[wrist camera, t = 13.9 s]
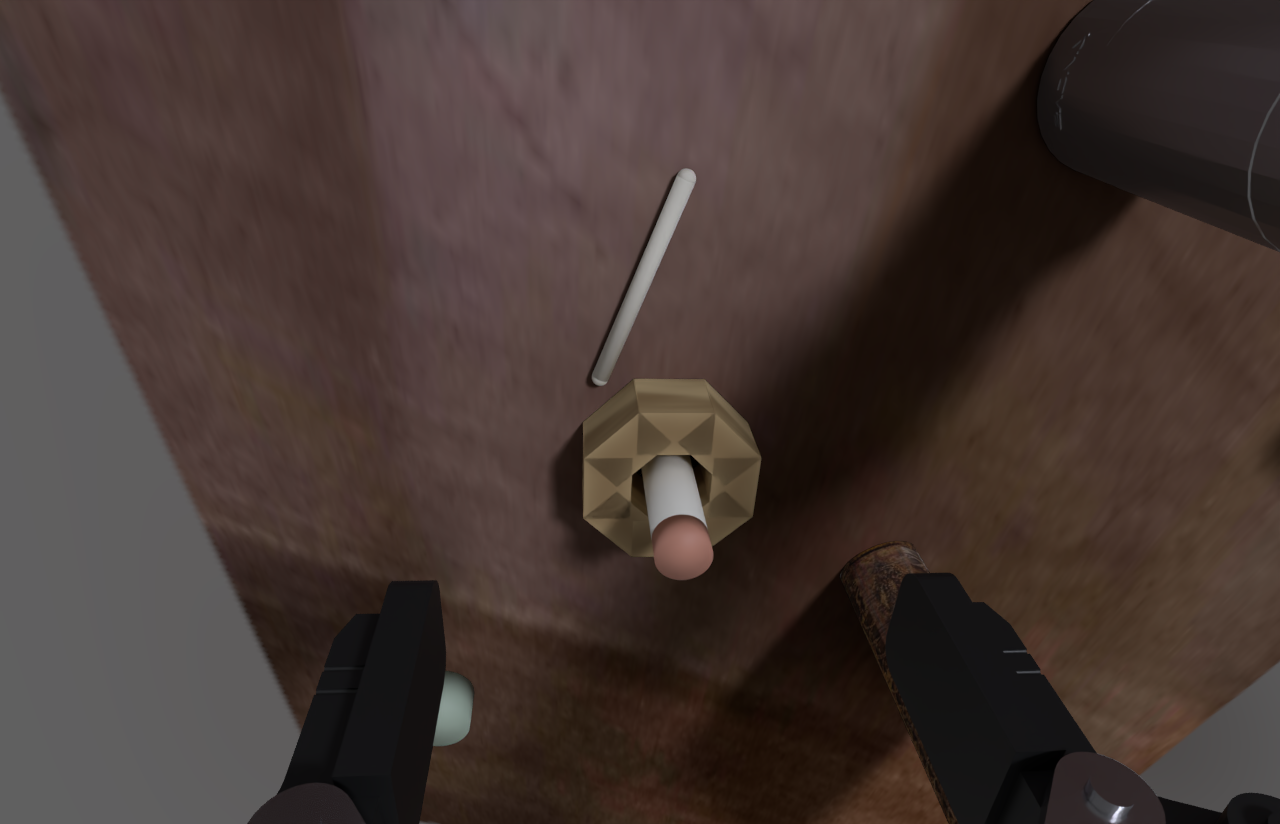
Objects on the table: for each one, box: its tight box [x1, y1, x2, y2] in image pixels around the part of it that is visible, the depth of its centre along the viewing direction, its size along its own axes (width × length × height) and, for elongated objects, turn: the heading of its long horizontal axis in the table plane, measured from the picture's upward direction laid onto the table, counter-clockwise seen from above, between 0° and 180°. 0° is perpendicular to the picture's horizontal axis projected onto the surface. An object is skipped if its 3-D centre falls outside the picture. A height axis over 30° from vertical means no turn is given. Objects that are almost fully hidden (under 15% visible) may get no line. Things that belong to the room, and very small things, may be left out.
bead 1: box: [433, 671, 474, 746], centre depth 55 cm, size 4×4×3 cm
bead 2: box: [582, 379, 762, 557], centre depth 46 cm, size 10×10×4 cm
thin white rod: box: [592, 169, 696, 386], centre depth 42 cm, size 13×1×1 cm, turn 157°
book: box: [840, 541, 959, 824], centre depth 46 cm, size 16×6×25 cm, turn 29°
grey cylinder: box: [641, 455, 713, 580], centre depth 43 cm, size 3×3×10 cm
